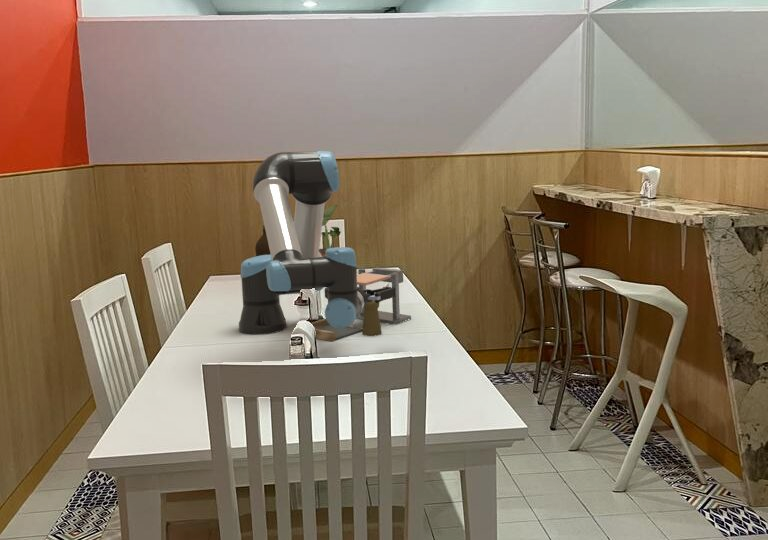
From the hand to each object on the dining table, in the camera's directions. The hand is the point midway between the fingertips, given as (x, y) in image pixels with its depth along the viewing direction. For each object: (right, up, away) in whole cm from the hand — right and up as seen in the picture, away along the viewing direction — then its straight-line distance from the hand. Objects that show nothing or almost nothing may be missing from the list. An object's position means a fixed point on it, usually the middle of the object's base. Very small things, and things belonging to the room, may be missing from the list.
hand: (364, 287), depth 217 cm
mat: (-10, -14, +15) cm, 23 cm away
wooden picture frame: (-10, -14, +15) cm, 23 cm away
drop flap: (+2, 0, +25) cm, 25 cm away
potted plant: (-19, 0, +102) cm, 104 cm away
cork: (+2, -15, +13) cm, 20 cm away
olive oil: (-43, -1, +101) cm, 110 cm away
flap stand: (+5, -11, +31) cm, 33 cm away
